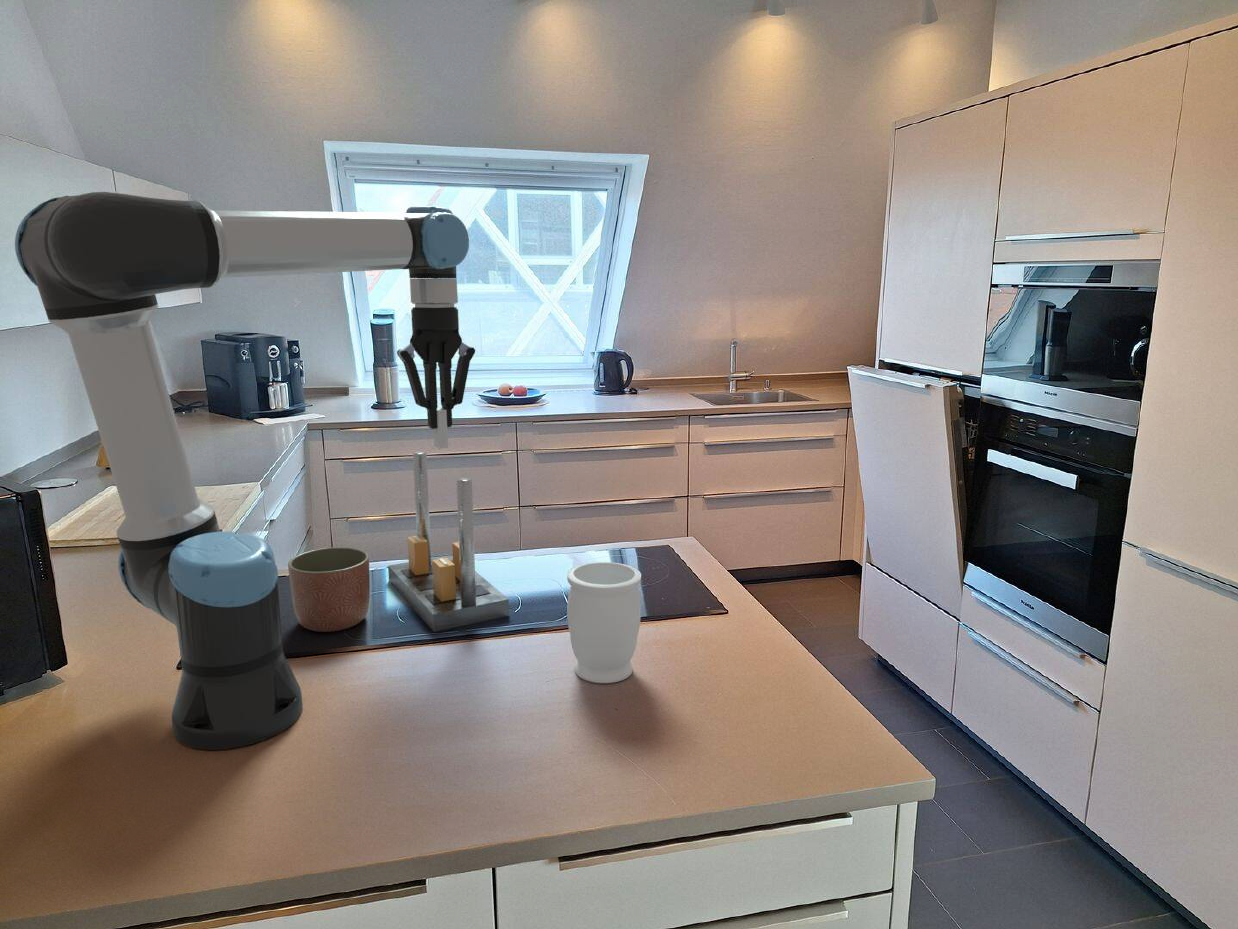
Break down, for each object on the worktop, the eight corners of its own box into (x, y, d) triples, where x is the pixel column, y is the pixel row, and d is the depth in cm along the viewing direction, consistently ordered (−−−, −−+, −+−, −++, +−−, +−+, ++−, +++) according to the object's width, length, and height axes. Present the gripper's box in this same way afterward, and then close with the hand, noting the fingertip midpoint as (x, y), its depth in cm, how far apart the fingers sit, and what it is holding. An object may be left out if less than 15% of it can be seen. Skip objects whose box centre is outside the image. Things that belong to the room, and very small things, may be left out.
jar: (654, 670, 119) (656, 573, 116) (605, 696, 112) (605, 593, 108) (602, 648, 126) (602, 555, 123) (552, 671, 119) (551, 573, 115)
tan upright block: (474, 579, 145) (473, 546, 144) (461, 581, 144) (460, 548, 143) (466, 572, 149) (465, 539, 147) (453, 574, 147) (452, 541, 146)
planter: (300, 644, 126) (295, 577, 124) (287, 616, 137) (281, 554, 134) (381, 628, 133) (377, 564, 130) (362, 602, 143) (358, 542, 140)
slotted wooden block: (456, 598, 136) (454, 563, 135) (441, 601, 135) (440, 566, 134) (447, 591, 140) (446, 556, 138) (433, 593, 138) (432, 558, 137)
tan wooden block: (429, 573, 148) (427, 540, 147) (415, 575, 147) (414, 542, 145) (422, 566, 151) (420, 534, 150) (409, 568, 150) (407, 536, 149)
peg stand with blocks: (509, 615, 138) (506, 477, 132) (434, 632, 131) (427, 486, 126) (455, 569, 159) (451, 448, 154) (388, 580, 153) (381, 455, 148)
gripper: (464, 304, 140) (469, 439, 146) (388, 305, 134) (396, 446, 139) (480, 305, 134) (485, 446, 140) (401, 307, 128) (410, 455, 133)
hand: (441, 446), depth 139 cm, fingers closed
